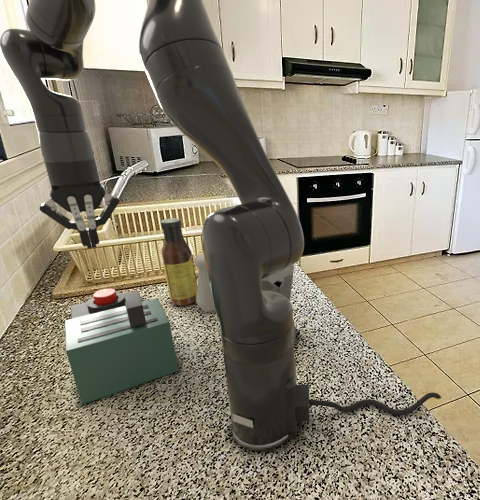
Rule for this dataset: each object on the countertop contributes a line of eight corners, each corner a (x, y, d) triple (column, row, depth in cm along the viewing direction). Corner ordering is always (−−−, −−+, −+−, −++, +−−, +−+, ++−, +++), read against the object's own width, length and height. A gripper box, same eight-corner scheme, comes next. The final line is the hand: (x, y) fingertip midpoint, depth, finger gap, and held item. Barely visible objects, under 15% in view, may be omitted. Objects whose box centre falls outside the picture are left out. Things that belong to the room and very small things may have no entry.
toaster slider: (143, 316, 62) (139, 298, 61) (146, 323, 60) (142, 305, 59) (128, 320, 61) (124, 302, 60) (131, 328, 59) (126, 308, 58)
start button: (116, 295, 83) (114, 286, 82) (118, 302, 80) (116, 294, 79) (94, 299, 81) (92, 291, 80) (96, 307, 78) (93, 299, 77)
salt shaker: (215, 315, 82) (208, 261, 78) (192, 312, 84) (184, 259, 79) (228, 303, 88) (223, 252, 83) (206, 300, 89) (200, 249, 84)
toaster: (166, 342, 73) (157, 297, 69) (178, 370, 65) (169, 321, 62) (79, 369, 65) (64, 319, 62) (82, 404, 58) (65, 350, 54)
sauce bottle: (204, 298, 90) (194, 219, 82) (181, 309, 85) (168, 226, 77) (187, 291, 93) (175, 214, 86) (164, 301, 88) (149, 221, 81)
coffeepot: (307, 350, 72) (305, 264, 65) (258, 363, 68) (250, 273, 61) (284, 312, 85) (280, 237, 78) (241, 321, 81) (234, 243, 74)
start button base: (139, 298, 89) (136, 283, 88) (146, 317, 81) (143, 300, 80) (73, 314, 82) (68, 298, 80) (74, 336, 74) (69, 318, 73)
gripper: (20, 162, 61) (49, 260, 67) (113, 157, 68) (132, 246, 74) (24, 157, 67) (50, 248, 73) (110, 153, 74) (127, 236, 80)
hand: (92, 246), depth 74 cm, fingers closed
